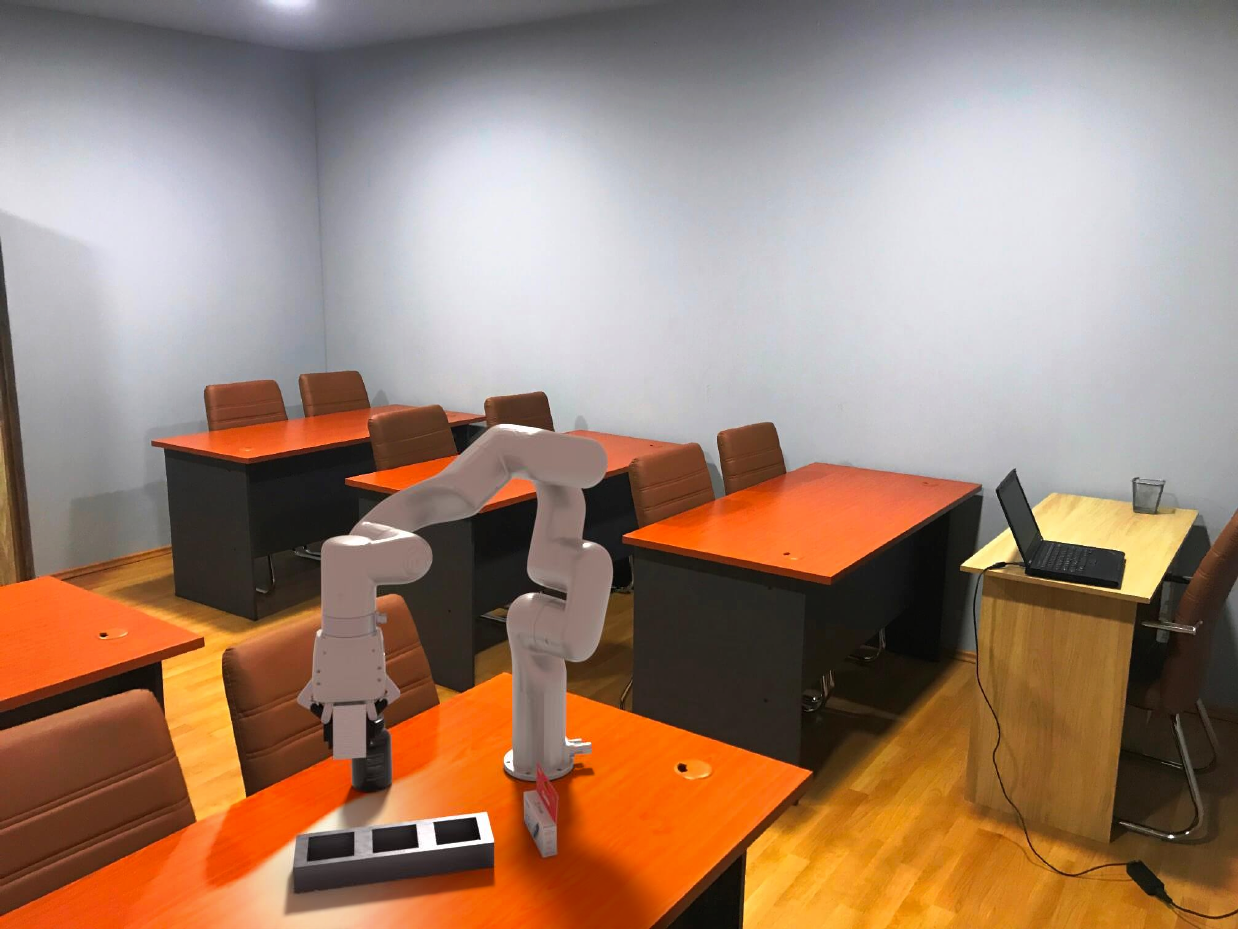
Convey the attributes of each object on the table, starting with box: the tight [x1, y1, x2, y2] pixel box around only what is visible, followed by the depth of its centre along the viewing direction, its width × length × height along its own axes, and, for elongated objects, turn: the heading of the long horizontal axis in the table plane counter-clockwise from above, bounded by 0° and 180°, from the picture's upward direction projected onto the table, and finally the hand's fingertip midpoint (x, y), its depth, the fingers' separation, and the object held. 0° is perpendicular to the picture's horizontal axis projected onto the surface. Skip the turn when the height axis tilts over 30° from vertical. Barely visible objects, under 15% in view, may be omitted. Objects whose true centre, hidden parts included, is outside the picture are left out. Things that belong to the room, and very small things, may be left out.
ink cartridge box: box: [523, 763, 559, 858], centre depth 148 cm, size 2×11×10 cm, turn 21°
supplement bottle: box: [350, 712, 393, 793], centre depth 163 cm, size 7×7×12 cm
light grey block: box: [332, 701, 367, 761], centre depth 138 cm, size 4×4×8 cm
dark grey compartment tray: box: [292, 811, 495, 894], centre depth 141 cm, size 28×8×4 cm, turn 105°
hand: (349, 743), depth 139 cm, fingers closed on light grey block, 4 cm apart
